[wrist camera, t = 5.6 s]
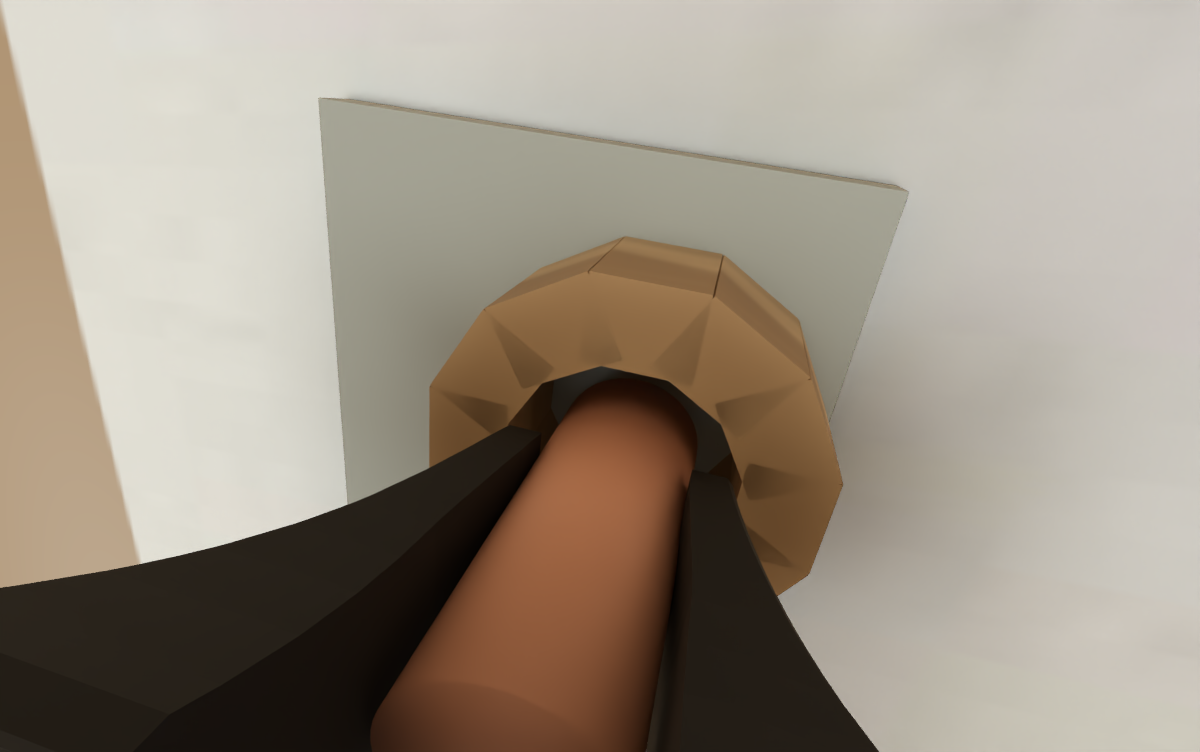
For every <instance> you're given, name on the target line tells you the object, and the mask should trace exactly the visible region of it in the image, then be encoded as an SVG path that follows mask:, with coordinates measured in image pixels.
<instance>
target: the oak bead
mask: <svg viewBox="0 0 1200 752" xmlns="http://www.w3.org/2000/svg"><path fill="white" fill-rule="evenodd" d="M722 255H723V254H720V253H714V252H709V251H703V250H698V249H692V248H687V247H682V246H676V245H671V244H665V243H660V242H654V241H649V240H644V239H638V238H633V237H627V236H626V237H621V238H619V239H616V240H614V241H611V242H608V243H606V244H603V245H600V246H598V247H595V248H592V249H590V250H587V251H584V252H582V253H579V254H576V255H574V256H571V257H568V258H566V259H563V260H560V261H558V262H555V263H552V264H550V265H547V266H544V267H542V268H540V269H538V270H537V271H536V272H534V273H533V274H531V275H530V276H529V277H527V278H526V279H524V280H523V281H522V282H520V283H519V284H518V285H516V286H515V287H513V288H512V289H511V290H509V291H508V292H506V293H505V294H504V295H502V296H501V297H500V298H498V299H497V300H495V301H494V302H493V303H491V304H490V305H488V306H487V307H486V308H484V309H483V310H482V312H481V313H480V314H479V316H478V317H477V319H476V320H475V322H474V323H473V324H472V326H471V327H470V329H469V330H468V332H467V333H466V334H465V336H464V337H463V339H462V340H461V342H460V343H459V344H458V346H457V347H456V349H455V350H454V352H453V353H452V354H451V356H450V357H449V359H448V360H447V361H446V363H445V364H444V366H443V367H442V369H441V370H440V371H439V373H438V374H437V376H436V377H435V379H434V380H433V381H432V383H431V384H430V387H429V468H430V467H432V466H434V465H436V464H437V463H439V462H441V461H443V460H445V459H447V458H449V457H451V456H453V455H455V454H456V453H458V452H460V451H462V450H464V449H466V448H468V447H469V446H471V445H473V444H475V443H477V442H479V441H480V440H482V439H484V438H486V437H488V436H489V435H491V434H493V433H495V432H497V431H499V430H501V429H503V428H505V427H507V426H509V425H512V426H516V427H520V428H524V429H529V430H533V431H537V432H541V433H542V436H541V446H540V453H541V452H542V450H543V449H544V447H545V446H546V444H547V442H548V441H549V439H550V438H551V436H552V435H553V433H554V431H555V430H556V428H557V427H558V425H559V424H558V422H557V420H556V418H555V416H554V413H553V411H552V409H551V403H552V394H553V385H554V380H555V379H558V378H562V377H565V376H569V375H572V374H575V373H579V372H582V371H586V370H589V369H592V368H596V367H599V366H604V367H609V368H613V369H618V370H622V371H627V372H631V373H636V374H640V375H645V376H649V377H654V378H658V379H663V380H667V381H669V382H671V383H672V384H673V385H674V386H676V387H677V388H678V389H679V390H680V391H682V392H683V393H684V394H685V395H686V396H688V397H689V398H690V399H691V400H692V401H694V402H695V403H696V404H697V405H698V406H700V407H701V408H702V409H703V410H704V411H706V412H707V413H708V414H709V415H710V416H712V417H713V418H714V419H715V420H716V421H718V422H719V423H720V424H721V425H722V428H723V430H724V433H725V436H726V439H727V442H728V444H729V447H730V450H731V453H730V454H729V455H728V456H726V457H725V458H724V459H723V460H722V461H721V462H719V463H718V464H717V465H716V466H715V467H714V468H713V469H711V470H710V471H709V472H708V473H709V474H713V475H717V476H721V477H725V478H728V479H729V481H730V482H731V484H732V485H733V489H734V493H735V496H736V500H737V503H738V506H739V509H740V512H741V515H742V518H743V520H744V523H745V526H746V528H747V531H748V534H749V536H750V539H751V541H752V543H753V546H754V548H755V550H756V553H757V555H758V557H759V559H760V562H761V564H762V566H763V568H764V571H765V573H766V575H767V577H768V579H769V581H770V583H771V585H772V587H773V589H774V591H775V593H776V595H777V596H778V595H780V594H781V593H782V592H784V591H785V590H787V589H788V588H790V587H791V586H793V585H794V584H796V583H797V582H799V581H800V580H802V579H803V578H805V577H806V576H808V574H809V573H810V571H811V568H812V565H813V563H814V560H815V557H816V555H817V552H818V550H819V547H820V544H821V542H822V539H823V536H824V534H825V531H826V528H827V526H828V523H829V521H830V518H831V515H832V513H833V510H834V507H835V505H836V502H837V500H838V497H839V494H840V492H841V489H842V486H843V482H842V478H841V473H840V469H839V465H838V461H837V456H836V452H835V448H834V444H833V440H832V435H831V431H830V427H829V423H828V418H827V414H826V410H825V406H824V402H823V399H822V395H821V392H820V389H819V385H818V382H817V379H816V375H815V372H814V368H813V365H812V362H811V358H810V355H809V352H808V348H807V345H806V341H805V338H804V335H803V331H802V328H801V325H800V321H799V320H798V318H797V317H796V316H795V315H793V314H792V313H791V312H790V311H789V310H788V309H786V308H785V307H784V306H783V305H782V304H781V303H780V302H778V301H777V300H776V299H775V298H774V297H773V296H771V295H770V294H769V293H768V292H767V291H766V290H764V289H763V288H762V287H761V286H760V285H759V284H757V283H756V282H755V281H754V280H753V279H752V278H751V277H749V276H748V275H747V274H746V273H745V272H744V271H742V270H741V269H740V268H739V267H738V266H737V265H735V264H734V263H733V262H732V261H731V260H730V259H729V258H727V257H726V256H725V255H724V256H723V257H722Z"/></svg>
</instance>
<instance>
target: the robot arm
mask: <svg viewBox="0 0 1200 752" xmlns="http://www.w3.org/2000/svg"><path fill="white" fill-rule="evenodd" d="M541 436H542V433H541V432H537V431H533V430H529V429H524V428H520V427H516V426H512V425H509V426H507V427H505V428H503V429H501V430H499V431H497V432H495V433H493V434H491V435H489V436H488V437H486V438H484V439H482V440H480V441H479V442H477V443H475V444H473V445H471V446H469V447H468V448H466V449H464V450H462V451H460V452H458V453H456V454H455V455H453V456H451V457H449V458H447V459H445V460H443V461H441V462H439V463H437V464H436V465H434V466H432V467H430V468H428V469H426V470H424V471H422V472H420V473H418V474H415V475H413V476H411V477H409V478H407V479H405V480H403V481H400V482H398V483H396V484H394V485H392V486H390V487H388V488H385V489H383V490H381V491H379V492H377V493H375V494H372V495H370V496H368V497H365V498H363V499H361V500H358V501H356V502H353V503H351V504H348V505H346V506H343V507H341V508H338V509H335V510H332V511H330V512H327V513H324V514H321V515H319V516H316V517H313V518H310V519H308V520H305V521H302V522H299V523H296V524H293V525H289V526H286V527H282V528H279V529H276V530H272V531H269V532H266V533H262V534H259V535H255V536H252V537H249V538H245V539H242V540H238V541H235V542H232V543H228V544H225V545H221V546H217V547H213V548H209V549H205V550H201V551H197V552H192V553H188V554H184V555H180V556H176V557H171V558H166V559H162V560H157V561H152V562H148V563H143V564H139V565H134V566H129V567H124V568H118V569H114V570H108V571H102V572H96V573H91V574H84V575H78V576H72V577H66V578H60V579H54V580H48V581H42V582H36V583H30V584H24V585H17V586H11V587H3V588H0V752H372V748H371V742H370V730H371V725H372V721H373V718H374V716H375V714H376V712H377V710H378V708H379V707H380V705H381V704H382V702H383V700H384V699H385V697H386V696H387V694H388V693H389V691H390V689H391V688H392V686H393V685H394V683H395V682H396V680H397V678H398V677H399V675H400V674H401V672H402V671H403V669H404V667H405V666H406V664H407V663H408V661H409V660H410V658H411V656H412V655H413V653H414V652H415V650H416V649H417V647H418V645H419V644H420V642H421V641H422V639H423V637H424V636H425V634H426V633H427V631H428V630H429V628H430V626H431V625H432V623H433V622H434V620H435V619H436V617H437V615H438V614H439V612H440V611H441V609H442V608H443V606H444V604H445V603H446V601H447V600H448V598H449V597H450V595H451V593H452V592H453V590H454V589H455V587H456V586H457V584H458V582H459V581H460V579H461V578H462V576H463V575H464V573H465V571H466V570H467V568H468V567H469V565H470V564H471V562H472V560H473V559H474V557H475V556H476V554H477V553H478V551H479V549H480V548H481V546H482V545H483V543H484V542H485V540H486V538H487V537H488V535H489V534H490V532H491V531H492V529H493V527H494V526H495V524H496V523H497V521H498V520H499V518H500V516H501V515H502V513H503V512H504V510H505V509H506V507H507V505H508V504H509V502H510V501H511V499H512V498H513V496H514V494H515V493H516V491H517V490H518V488H519V487H520V485H521V483H522V482H523V480H524V479H525V477H526V476H527V474H528V472H529V471H530V469H531V468H532V466H533V465H534V463H535V461H536V460H537V458H538V457H539V455H540V446H541ZM646 752H879V751H878V750H877V748H876V747H875V746H874V744H873V743H872V742H871V741H870V739H869V738H868V737H867V735H866V734H865V733H864V731H863V730H862V729H861V727H860V726H859V725H858V723H857V722H856V721H855V719H854V718H853V717H852V716H851V714H850V713H849V712H848V710H847V709H846V708H845V706H844V705H843V704H842V702H841V701H840V699H839V698H838V696H837V695H836V693H835V692H834V690H833V689H832V687H831V686H830V684H829V683H828V682H827V680H826V679H825V677H824V676H823V674H822V673H821V671H820V669H819V668H818V666H817V665H816V663H815V661H814V660H813V658H812V657H811V655H810V654H809V652H808V650H807V649H806V647H805V646H804V644H803V642H802V640H801V639H800V637H799V635H798V634H797V632H796V630H795V628H794V627H793V625H792V623H791V621H790V620H789V618H788V616H787V614H786V612H785V610H784V608H783V606H782V605H781V603H780V601H779V599H778V597H777V595H776V593H775V591H774V589H773V587H772V585H771V583H770V581H769V579H768V577H767V575H766V573H765V571H764V568H763V566H762V564H761V562H760V559H759V557H758V555H757V553H756V550H755V548H754V546H753V543H752V541H751V539H750V536H749V534H748V531H747V528H746V526H745V523H744V520H743V518H742V515H741V512H740V509H739V506H738V503H737V500H736V496H735V493H734V489H733V485H732V484H731V482H730V481H729V479H728V478H725V477H721V476H717V475H713V474H709V473H704V472H700V471H696V470H692V473H691V477H690V481H689V485H688V489H687V494H686V499H685V505H684V510H683V516H682V522H681V527H680V536H679V548H678V557H677V567H676V576H675V583H674V590H673V596H672V602H671V608H670V614H669V619H668V625H667V631H666V637H665V643H664V649H663V654H662V660H661V666H660V672H659V678H658V684H657V690H656V695H655V701H654V707H653V713H652V719H651V725H650V730H649V736H648V744H647V750H646Z"/></svg>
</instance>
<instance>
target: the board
mask: <svg viewBox="0 0 1200 752" xmlns="http://www.w3.org/2000/svg"><path fill="white" fill-rule="evenodd" d="M318 101H319V114H320V128H321V142H322V156H323V170H324V184H325V197H326V211H327V225H328V239H329V253H330V266H331V280H332V294H333V308H334V322H335V336H336V349H337V363H338V377H339V391H340V405H341V419H342V432H343V446H344V460H345V474H346V488H347V501H348V504H351V503H353V502H356V501H358V500H361V499H363V498H365V497H368V496H370V495H372V494H375V493H377V492H379V491H381V490H383V489H385V488H388V487H390V486H392V485H394V484H396V483H398V482H400V481H403V480H405V479H407V478H409V477H411V476H413V475H415V474H418V473H420V472H422V471H424V470H426V469H428V468H429V387H430V384H431V383H432V381H433V380H434V379H435V377H436V376H437V374H438V373H439V371H440V370H441V369H442V367H443V366H444V364H445V363H446V361H447V360H448V359H449V357H450V356H451V354H452V353H453V352H454V350H455V349H456V347H457V346H458V344H459V343H460V342H461V340H462V339H463V337H464V336H465V334H466V333H467V332H468V330H469V329H470V327H471V326H472V324H473V323H474V322H475V320H476V319H477V317H478V316H479V314H480V313H481V312H482V310H483V309H484V308H486V307H487V306H488V305H490V304H491V303H493V302H494V301H495V300H497V299H498V298H500V297H501V296H502V295H504V294H505V293H506V292H508V291H509V290H511V289H512V288H513V287H515V286H516V285H518V284H519V283H520V282H522V281H523V280H524V279H526V278H527V277H529V276H530V275H531V274H533V273H534V272H536V271H537V270H538V269H540V268H542V267H544V266H547V265H550V264H552V263H555V262H558V261H560V260H563V259H566V258H568V257H571V256H574V255H576V254H579V253H582V252H584V251H587V250H590V249H592V248H595V247H598V246H600V245H603V244H606V243H608V242H611V241H614V240H616V239H619V238H621V237H626V236H627V237H633V238H638V239H644V240H649V241H654V242H660V243H665V244H671V245H676V246H682V247H687V248H692V249H698V250H703V251H709V252H714V253H720V254H723V255H722V257H723V256H724V255H725V256H726V257H727V258H729V259H730V260H731V261H732V262H733V263H734V264H735V265H737V266H738V267H739V268H740V269H741V270H742V271H744V272H745V273H746V274H747V275H748V276H749V277H751V278H752V279H753V280H754V281H755V282H756V283H757V284H759V285H760V286H761V287H762V288H763V289H764V290H766V291H767V292H768V293H769V294H770V295H771V296H773V297H774V298H775V299H776V300H777V301H778V302H780V303H781V304H782V305H783V306H784V307H785V308H786V309H788V310H789V311H790V312H791V313H792V314H793V315H795V316H796V317H797V318H798V320H799V321H800V325H801V328H802V331H803V335H804V338H805V341H806V345H807V348H808V352H809V355H810V358H811V362H812V365H813V368H814V372H815V375H816V379H817V382H818V385H819V389H820V392H821V395H822V399H823V402H824V406H825V410H826V414H827V418H828V423H829V421H830V418H831V416H832V413H833V410H834V407H835V404H836V401H837V398H838V395H839V393H840V390H841V387H842V384H843V381H844V378H845V375H846V372H847V370H848V367H849V364H850V361H851V358H852V355H853V352H854V350H855V347H856V344H857V341H858V338H859V335H860V332H861V329H862V327H863V324H864V321H865V318H866V315H867V312H868V309H869V306H870V304H871V301H872V298H873V295H874V292H875V289H876V286H877V283H878V281H879V278H880V275H881V272H882V269H883V266H884V263H885V260H886V258H887V255H888V252H889V249H890V246H891V243H892V240H893V237H894V235H895V232H896V229H897V226H898V223H899V220H900V217H901V214H902V212H903V209H904V206H905V203H906V200H907V197H908V194H909V192H908V191H907V190H905V189H903V188H901V187H899V186H895V185H889V184H883V183H876V182H870V181H864V180H857V179H851V178H845V177H838V176H832V175H826V174H819V173H813V172H807V171H800V170H794V169H788V168H781V167H775V166H769V165H762V164H756V163H750V162H743V161H737V160H731V159H724V158H718V157H712V156H705V155H699V154H693V153H686V152H680V151H674V150H668V149H661V148H655V147H649V146H642V145H636V144H630V143H623V142H617V141H611V140H604V139H598V138H592V137H585V136H579V135H573V134H566V133H560V132H554V131H547V130H541V129H535V128H528V127H522V126H516V125H509V124H503V123H497V122H490V121H484V120H478V119H471V118H465V117H459V116H452V115H446V114H440V113H433V112H427V111H421V110H414V109H408V108H402V107H396V106H389V105H383V104H377V103H370V102H364V101H358V100H351V99H336V98H318ZM618 378H630V379H637V380H641V381H645V382H649V383H651V384H653V385H656V386H658V387H660V388H662V389H663V390H665V391H667V392H668V393H669V394H671V395H672V396H673V397H674V398H676V399H677V400H678V401H679V402H680V403H681V404H682V406H683V407H684V408H685V409H686V411H687V412H688V414H689V415H690V417H691V419H692V421H693V424H694V426H695V430H696V434H697V440H698V449H697V456H696V462H695V468H694V470H696V471H700V472H704V473H708V472H709V471H710V470H711V469H713V468H714V467H715V466H716V465H717V464H718V463H719V462H721V461H722V460H723V459H724V458H725V457H726V456H728V455H729V454H730V453H731V450H730V447H729V444H728V442H727V439H726V436H725V433H724V430H723V428H722V425H721V424H720V423H719V422H718V421H716V420H715V419H714V418H713V417H712V416H710V415H709V414H708V413H707V412H706V411H704V410H703V409H702V408H701V407H700V406H698V405H697V404H696V403H695V402H694V401H692V400H691V399H690V398H689V397H688V396H686V395H685V394H684V393H683V392H682V391H680V390H679V389H678V388H677V387H676V386H674V385H673V384H672V383H671V382H669V381H667V380H663V379H658V378H654V377H649V376H645V375H640V374H636V373H631V372H627V371H622V370H618V369H613V368H609V367H604V366H599V367H596V368H592V369H589V370H586V371H582V372H579V373H575V374H572V375H569V376H565V377H562V378H558V379H555V380H554V385H553V394H552V403H551V409H552V411H553V413H554V416H555V418H556V420H557V422H558V424H560V422H561V420H562V419H563V417H564V416H565V414H566V413H567V411H568V409H569V408H570V406H571V405H572V403H573V402H574V401H575V399H576V398H577V397H578V396H579V395H580V394H581V393H582V392H583V391H585V390H586V389H587V388H589V387H591V386H593V385H595V384H597V383H600V382H602V381H606V380H610V379H618Z"/></svg>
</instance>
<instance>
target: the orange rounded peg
mask: <svg viewBox="0 0 1200 752" xmlns="http://www.w3.org/2000/svg"><path fill="white" fill-rule="evenodd" d="M697 449H698V440H697V434H696V430H695V426H694V424H693V421H692V419H691V417H690V415H689V414H688V412H687V411H686V409H685V408H684V407H683V406H682V404H681V403H680V402H679V401H678V400H677V399H676V398H674V397H673V396H672V395H671V394H669V393H668V392H667V391H665V390H663V389H662V388H660V387H658V386H656V385H653V384H651V383H649V382H645V381H641V380H637V379H630V378H618V379H610V380H606V381H602V382H600V383H597V384H595V385H593V386H591V387H589V388H587V389H586V390H585V391H583V392H582V393H581V394H580V395H579V396H578V397H577V398H576V399H575V401H574V402H573V403H572V405H571V406H570V408H569V409H568V411H567V413H566V414H565V416H564V417H563V419H562V420H561V422H560V424H559V425H558V427H557V428H556V430H555V431H554V433H553V435H552V436H551V438H550V439H549V441H548V442H547V444H546V446H545V447H544V449H543V450H542V452H541V453H540V455H539V457H538V458H537V460H536V461H535V463H534V465H533V466H532V468H531V469H530V471H529V472H528V474H527V476H526V477H525V479H524V480H523V482H522V483H521V485H520V487H519V488H518V490H517V491H516V493H515V494H514V496H513V498H512V499H511V501H510V502H509V504H508V505H507V507H506V509H505V510H504V512H503V513H502V515H501V516H500V518H499V520H498V521H497V523H496V524H495V526H494V527H493V529H492V531H491V532H490V534H489V535H488V537H487V538H486V540H485V542H484V543H483V545H482V546H481V548H480V549H479V551H478V553H477V554H476V556H475V557H474V559H473V560H472V562H471V564H470V565H469V567H468V568H467V570H466V571H465V573H464V575H463V576H462V578H461V579H460V581H459V582H458V584H457V586H456V587H455V589H454V590H453V592H452V593H451V595H450V597H449V598H448V600H447V601H446V603H445V604H444V606H443V608H442V609H441V611H440V612H439V614H438V615H437V617H436V619H435V620H434V622H433V623H432V625H431V626H430V628H429V630H428V631H427V633H426V634H425V636H424V637H423V639H422V641H421V642H420V644H419V645H418V647H417V649H416V650H415V652H414V653H413V655H412V656H411V658H410V660H409V661H408V663H407V664H406V666H405V667H404V669H403V671H402V672H401V674H400V675H399V677H398V678H397V680H396V682H395V683H394V685H393V686H392V688H391V689H390V691H389V693H388V694H387V696H386V697H385V699H384V700H383V702H382V704H381V705H380V707H379V708H378V710H377V712H376V714H375V716H374V718H373V721H372V725H371V730H370V742H371V748H372V752H646V748H647V742H648V736H649V730H650V725H651V719H652V713H653V707H654V701H655V695H656V690H657V684H658V678H659V672H660V666H661V660H662V654H663V649H664V643H665V637H666V631H667V625H668V619H669V614H670V608H671V602H672V596H673V590H674V583H675V576H676V567H677V557H678V548H679V536H680V527H681V522H682V516H683V510H684V505H685V499H686V494H687V489H688V485H689V481H690V477H691V473H692V470H694V468H695V462H696V456H697Z"/></svg>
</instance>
